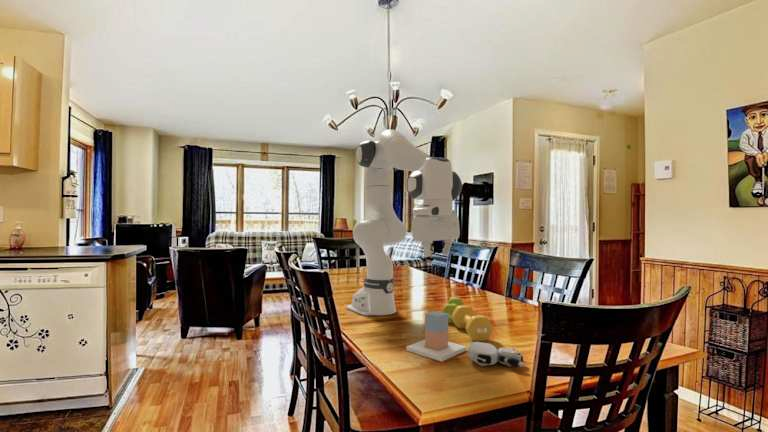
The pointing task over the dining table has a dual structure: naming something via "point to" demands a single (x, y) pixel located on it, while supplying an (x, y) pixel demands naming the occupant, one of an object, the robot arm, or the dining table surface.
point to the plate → (436, 354)
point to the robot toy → (494, 355)
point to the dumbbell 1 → (452, 307)
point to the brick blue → (436, 321)
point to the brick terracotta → (436, 340)
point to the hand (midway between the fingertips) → (437, 255)
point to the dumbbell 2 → (472, 323)
